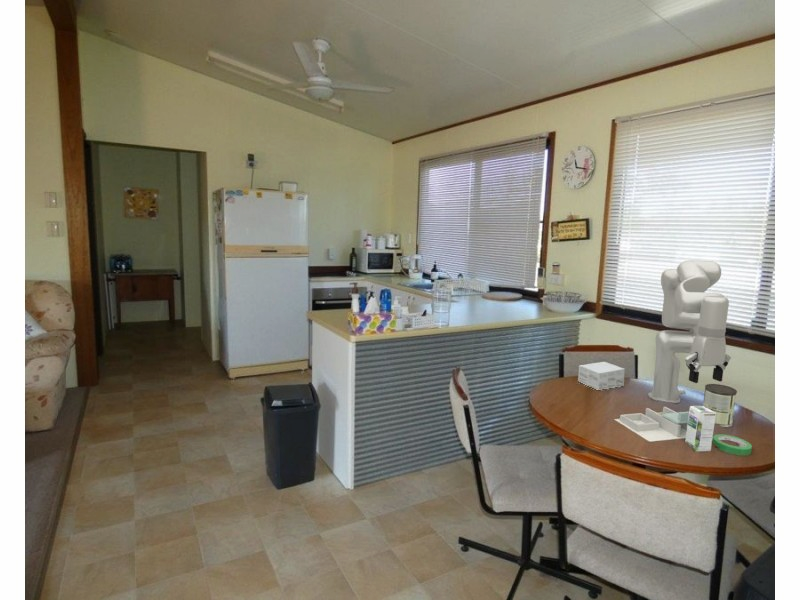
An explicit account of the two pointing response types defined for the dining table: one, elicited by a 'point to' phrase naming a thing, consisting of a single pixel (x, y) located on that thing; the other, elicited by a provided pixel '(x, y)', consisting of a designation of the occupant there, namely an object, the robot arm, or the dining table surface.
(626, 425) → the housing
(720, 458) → the dining table surface
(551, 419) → the dining table surface
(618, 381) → the supplement box
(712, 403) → the coffee can
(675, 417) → the lid
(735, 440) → the tape roll
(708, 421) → the syrup box
